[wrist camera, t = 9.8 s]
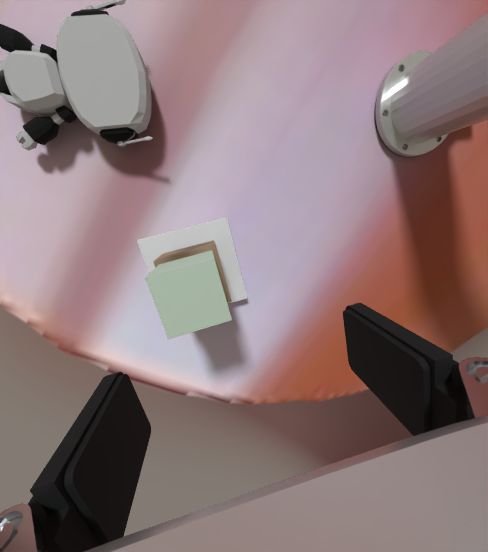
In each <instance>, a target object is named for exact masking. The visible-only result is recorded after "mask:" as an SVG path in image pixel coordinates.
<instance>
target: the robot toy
mask: <svg viewBox="0 0 488 552" xmlns="http://www.w3.org/2000/svg"><path fill="white" fill-rule="evenodd" d="M124 3H125V0H113V1H110V2H107V3H105V4H102V5H99V6H96V7H92V6H88V7H86V9H85V10H80V11H77V12H74V13H72V14H71V17H67V18H66V19H65V20H64V21H63V23H62V24H61V26H60V29H59V32H58V35H57V51H56V50H55V49H53V48H51V47H48V46H46V45H43V44H42V45H41V47H40V48H39V47H37V46H35V45H34V44H33V43H32V42H31V41H30V40H29V39H28V38H26V37H25V36H24V35H23V34H22V33H20V32H18V31H16V30H14V29H12V28H9V27H7V26H4V25H2V24H0V47H1V48H2V49H4V50H7V51H9V52H11V53H9V54H7V56H6V58H5V60H3V61H1V62H0V94H1V95H2V96H3V97H4V99H5V100H6V101H8V102H9V103H11V104H13V105H15V106H17V107H19V108H20V109H22V110H24V111H27V112H30V113H34V114H35V115H37V116H39V117H35V118H33V119H32V120H30V121H29V122H28V123H26V124H25V125H23V128H24V130H25V131H22V132H19V133H18V135H17V136H16V138H17V141H18V142H19V143H22V145H21V146H22V147H23V148H25V149H27V150H31V149H34V148H36V146H37V143H39V144H43V145H45V144H46V143H48V142H49V141H51V140H52V139H53V138H55V137H56V136H57V133H58V128H59V124H61V123H62V122H64V121H65V122H68V123H71V122H72V121H74V120H75V119H77V117H78V118H79V119H80V121H81V122H82V123H83V124H84V125H85V126H86V127H87V128H89V129H90V130H92V131H93V132H95V133H96V134H98V135H101V137H102V138H104V139H105V140H107V141H109V142H112V143H115V144H118V146H121V147H123V146H126V144H131V143H136V142H141V141H146V140H147V141H149V140H152V138H153V137H150V136H147V137H145V138H141V139H137V138H138V134H139V133H141V132H143V131H144V130H146V129H147V126H148V124H149V122H150V117H151V106H152V103H151V84H150V80H149V77H148V74H147V71H146V68H145V65H144V62H143V59H142V57H141V55H140V53H139V50H138V48H137V46H136V44H135V42H134V40H133V38H132V36H131V35H130V33H129V31H128V30H127V29H126V27H125V26H124V25H123V24H122V23H121V21H120V20H118V19H116V18H113V17H111V16H109V14H108V12H106V11H102V10H104V9H107V8H110V7H113V6H116V5H122V4H124ZM74 113H75V114H76V115H77V117H76V115H75V114H74ZM135 139H136V140H135Z"/></svg>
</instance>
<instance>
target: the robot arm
mask: <svg viewBox="0 0 488 552" xmlns="http://www.w3.org/2000/svg"><path fill="white" fill-rule="evenodd" d="M375 114H376V124H377V129H378V132H379V134H380V137H381V139H382V140H383V142H384V143H385V145H386V146H387V147H388V148H389V149H390V150H391V151H393V152H394V153H396V154H398V155H401V156H406V157H413V156H419V155H422V154H425V153H427V152H429V151H432V150H433V149H435V148H436V147H437V146H439V145H440V144H441V143H442V141H443V140H444V139H445V138H446V137H447V135H448V134H449V133H451V132H454V131H457V130H460V129H462V128H465V127H468V126H471V125H474V124H477V123H479V122H482V121H485V120H488V12H487V13H486V14H485V15H483V16H482V17H480V18H479V19H478V20H476V21H475V22H474V23H472V24H471V25H469V26H468V27H467V28H465V29H464V30H463V31H461V32H460V33H459V34H457V35H456V36H454V37H453V38H452V39H450V40H449V41H448V42H446V43H445V44H444V45H442V46H441V47H439V48H438V49H437V50H435V51H434V52H432V51H418V52H415V53H412V54H410V55H408V56H407V57H405V58H403V59H402V60H401V61H400V62H398V63H397V64H396V65H395V66H394V67H393V68H392V69H391V70H390V71H389V72H388V74H387V76H386V77H385V79H384V80H383V82H382V85H381V87H380V89H379V92H378V96H377V100H376V109H375ZM343 319H344V327H345V336H346V344H347V352H348V361H349V365H350V367H351V369H352V370H353V372H354V373H355V374H356V375H357V376H358V377H359V378H360V379H361V380H362V381H363V382H364V383H365V384H366V386H367V387H368V388H369V389H370V390H371V391H372V392H373V393H374V394H375V395H376V396H377V397H378V398H379V399H380V400H381V401H382V403H383V404H384V405H385V406H386V407H387V408H388V409H389V410H390V411H391V412H392V413H393V414H394V416H395V417H396V418H397V419H398V420H399V421H400V422H401V423H402V424H403V425H404V426H405V427H406V428H407V429H408V431H409V432H410V433H411V434H412V435H413V437H410V438H407V439H404V440H401V441H398V442H395V443H392V444H389V445H386V446H383V447H380V448H377V449H374V450H371V451H369V452H365V453H363V454H360V455H357V456H354V457H351V458H348V459H345V460H342V461H339V462H336V463H333V464H330V465H327V466H324V467H321V468H319V469H316V470H313V471H310V472H307V473H304V474H301V475H298V476H295V477H293V478H289V479H287V480H284V481H281V482H278V483H275V484H272V485H269V486H266V487H264V488H261V489H258V490H255V491H252V492H249V493H246V494H243V495H240V496H238V497H235V498H232V499H229V500H226V501H223V502H221V503H218V504H215V505H212V506H209V507H206V508H203V509H201V510H198V511H195V512H192V513H189V514H186V515H184V516H181V517H178V518H175V519H172V520H169V521H167V522H164V523H161V524H158V525H156V526H153V527H150V528H147V529H144V530H141V531H138V532H136V533H133V534H130V535H127V536H124V532H125V528H126V524H127V521H128V517H129V513H130V510H131V506H132V502H133V498H134V494H135V491H136V487H137V483H138V480H139V476H140V472H141V468H142V464H143V461H144V457H145V453H146V450H147V446H148V442H149V438H150V434H151V426H150V423H149V421H148V418H147V416H146V414H145V412H144V409H143V407H142V405H141V403H140V400H139V399H138V396H137V394H136V392H135V390H134V387H133V385H132V383H131V380H130V378H129V376H128V375H127V374H123V373H122V372H118V373H114V374H111V375H107V376H105V377H104V378H103V379H102V381H101V382H100V384H99V385H98V387H97V389H96V390H95V391H94V393H93V395H92V396H91V398H90V399H89V401H88V402H87V404H86V405H85V407H84V409H83V410H82V411H81V413H80V414H79V416H78V418H77V419H76V421H75V422H74V424H73V425H72V427H71V428H70V430H69V431H68V433H67V434H66V436H65V437H64V439H63V441H62V442H61V444H60V445H59V447H58V448H57V450H56V451H55V453H54V454H53V456H52V458H51V459H50V461H49V462H48V464H47V465H46V467H45V468H44V470H43V471H42V473H41V474H40V476H39V477H38V479H37V480H36V482H35V483H34V485H33V487H32V488H31V490H30V492H31V493H32V494H33V497H32V498H31V500H30V502H29V503H28V504H24V503H21V504H17V505H14V506H12V507H10V508H8V509H6V510H4V511H2V512H1V513H0V552H488V358H479V357H475V358H468V359H465V360H463V361H462V362H461V363H460V364H459V363H458V362H456V361H454V360H453V355H451V354H450V353H448V352H446V351H445V350H443V349H441V348H439V347H438V346H436V345H434V344H432V343H431V342H429V341H427V340H425V339H423V338H422V337H420V336H418V335H416V334H415V333H413V332H411V331H409V330H408V329H406V328H404V327H402V326H401V325H399V324H397V323H395V322H394V321H392V320H390V319H388V318H387V317H385V316H383V315H381V314H380V313H378V312H376V311H374V310H373V309H371V308H369V307H367V306H366V305H364V304H362V303H357V304H353V305H350V306H347V307H346V310H345V311H343ZM123 536H124V537H123Z"/></svg>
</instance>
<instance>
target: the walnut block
mask: <svg viewBox="0 0 488 552" xmlns="http://www.w3.org/2000/svg"><path fill="white" fill-rule="evenodd" d="M211 250H212V251H213V255H214V258H215V262H216V265H217V269H218V272H219V276H220V279H221V283H222V286H223V290H224V293H225V297H226V300H227V303H228V302H232V300H231V297H230V293H229V290H228V286H227V283H226V279H225V275H224V272H223V268H222V265H221V261H220V258H219V254H218V250H217V247H216V244H215V242H214V240H212V241H208V242H205V243H201V244H197V245H193V246H190V247H186V248H182V249H178V250H174V251H171V252H167V253H163V254H162V255H160V256H159V257H158V258H157V259H156V260H154V261H153V262H154V265H155V268H156V267H157V266H158V265H159V264H163V263H167V262H170V261H174V260H178V259H181V258H185V257H189V256H192V255H196V254H200V253H203V252H207V251H211Z"/></svg>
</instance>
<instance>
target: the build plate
mask: <svg viewBox="0 0 488 552" xmlns="http://www.w3.org/2000/svg"><path fill="white" fill-rule="evenodd" d="M212 240H214V242H215V244H216V247H217V250H218V254H219V258H220V261H221V265H222V268H223V272H224V275H225V279H226V283H227V286H228V290H229V293H230V297H231V300H232V302H228V303H227V304H230V303H233V302H236V301H240V300H243V299H246V298H247V294H246V290H245V287H244V283H243V279H242V275H241V271H240V267H239V263H238V259H237V256H236V252H235V248H234V244H233V240H232V236H231V232H230V229H229V225H228V221H227V217H225V218H221V219H217V220H213V221H209V222H205V223H201V224H198V225H194V226H190V227H186V228H182V229H178V230H174V231H170V232H166V233H163V234H159V235H155V236H151V237H147V238H143V239H139V240H137V242H138V244H139V247H140V250H141V252H142V255H143V258H144V260H145V263H146V266H147V268H148V271H149V274H150V273H151V272H152V271H153V270H154V269H155V265H154V262H153V261H154V260H156V259H157V258H158V257H159V256H160V255H162V254H163V253H167V252H171V251H174V250H178V249H182V248H186V247H190V246H193V245H197V244H201V243H205V242H208V241H212Z"/></svg>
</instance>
